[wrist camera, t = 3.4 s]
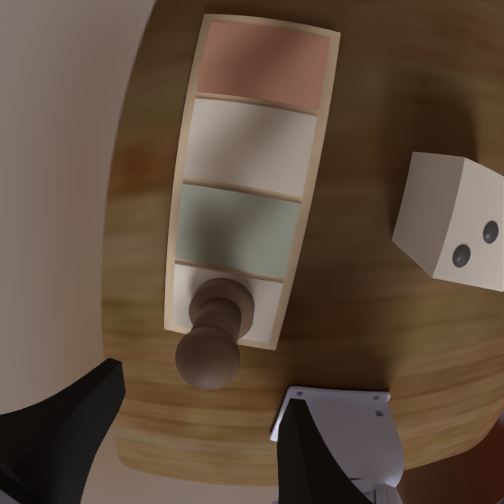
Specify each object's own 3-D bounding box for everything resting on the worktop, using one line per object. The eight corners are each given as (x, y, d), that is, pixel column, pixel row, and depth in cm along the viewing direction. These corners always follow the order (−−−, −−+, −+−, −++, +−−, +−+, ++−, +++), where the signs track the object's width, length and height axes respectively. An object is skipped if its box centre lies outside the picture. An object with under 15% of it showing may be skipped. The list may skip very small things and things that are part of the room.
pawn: (259, 284, 18) (252, 356, 12) (249, 336, 20) (238, 414, 13) (195, 272, 18) (158, 336, 12) (191, 325, 20) (160, 397, 13)
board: (337, 38, 14) (341, 31, 13) (275, 342, 21) (275, 352, 20) (207, 19, 14) (203, 12, 13) (168, 321, 21) (163, 330, 20)
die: (477, 177, 16) (533, 193, 10) (456, 256, 18) (503, 292, 12) (412, 151, 16) (465, 157, 10) (390, 240, 18) (432, 278, 12)
